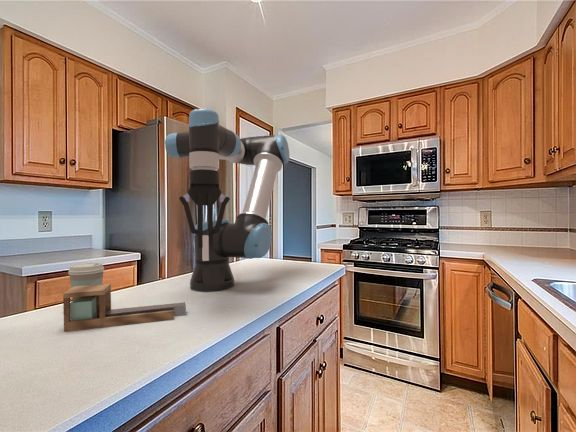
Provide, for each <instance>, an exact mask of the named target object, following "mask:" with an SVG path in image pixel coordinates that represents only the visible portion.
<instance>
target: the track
mask: <svg viewBox="0 0 576 432" xmlns="http://www.w3.org/2000/svg"><path fill="white" fill-rule="evenodd" d="M111 285H112V283H104V284H103V283H102V284H101V285H87V286H74V287H72V288H71V287H70V288H69V289H68V290H66V291H65V292H63V293H62V296H63V297H62V299H63V302H62V305H63V308H62V309H63V332H74V331H80V330H89V329H101V328H108V327H118V326H126V325H135V324H144V323H154V322H162V321H171V320H174V319H175V316H174V310H169V311H160V312H150V313H140V314H131V315H121V316H111V317H106V311H107V310H117V309H118V308H114V309H112V286H111ZM84 297H96V309H97V318H92V319H82V320H73V321H71V313H70V303H71V302H72V301H73V300H75V299H76V298H84ZM71 298H72V301H71ZM164 304H165V303H163V304H162V305H164ZM154 305H155V304H154ZM154 305H151V306H154ZM135 307H136V306H135ZM135 307H131V308H135ZM141 307H145V305H144V306H141ZM126 308H127V307H123V308H120V309H126Z"/></svg>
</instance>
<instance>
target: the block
mask: <svg viewBox="0 0 576 432" xmlns="http://www.w3.org/2000/svg"><path fill="white" fill-rule="evenodd" d="M70 316H71V321H73V320H82V319H92V318H97V309H96V297H84V298H76V299H75V300H73V301H70Z"/></svg>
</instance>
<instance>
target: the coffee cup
mask: <svg viewBox="0 0 576 432" xmlns="http://www.w3.org/2000/svg"><path fill="white" fill-rule="evenodd" d="M68 269H69V270H68V272H67V275H69V282H70V289H71V288H72V287H74V286H87V285H101V284H103V278H104V271H105V267H104V265H103V263H102V262H84V263H78V264H77V263H76V264H73V265H70V267H69V268H68Z"/></svg>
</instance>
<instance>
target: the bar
mask: <svg viewBox="0 0 576 432" xmlns="http://www.w3.org/2000/svg"><path fill="white" fill-rule="evenodd" d="M163 304H164V305H163ZM163 304H154V306H152V305H146V306H145V305H144V306H145V307H142V306H135V308H132V307H125V308H126V309H121V308H116V309H117V310H107V311H106V317H111V316H121V315H131V314H140V313H150V312H160V311H169V310H174V317H180V316H181V317H182V316H186V315H187V307H186V306H187V305H186V302H185V301H184V302H175V303H163Z"/></svg>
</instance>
